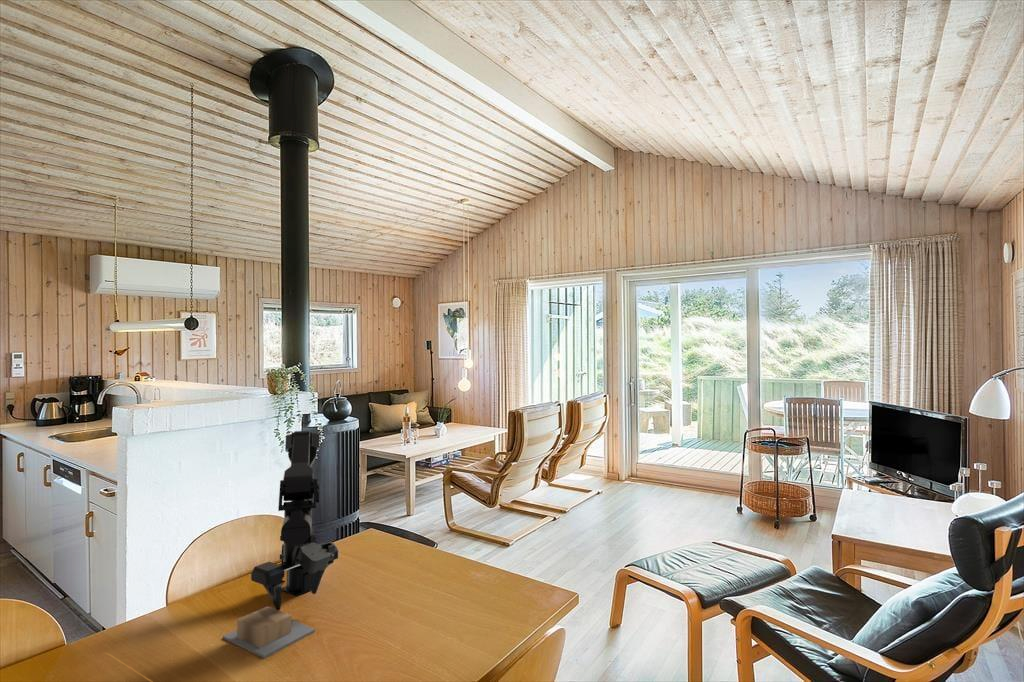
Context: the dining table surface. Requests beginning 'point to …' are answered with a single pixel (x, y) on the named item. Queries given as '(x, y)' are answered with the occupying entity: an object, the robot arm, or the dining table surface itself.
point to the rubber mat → (296, 634)
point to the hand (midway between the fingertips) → (296, 601)
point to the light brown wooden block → (264, 626)
